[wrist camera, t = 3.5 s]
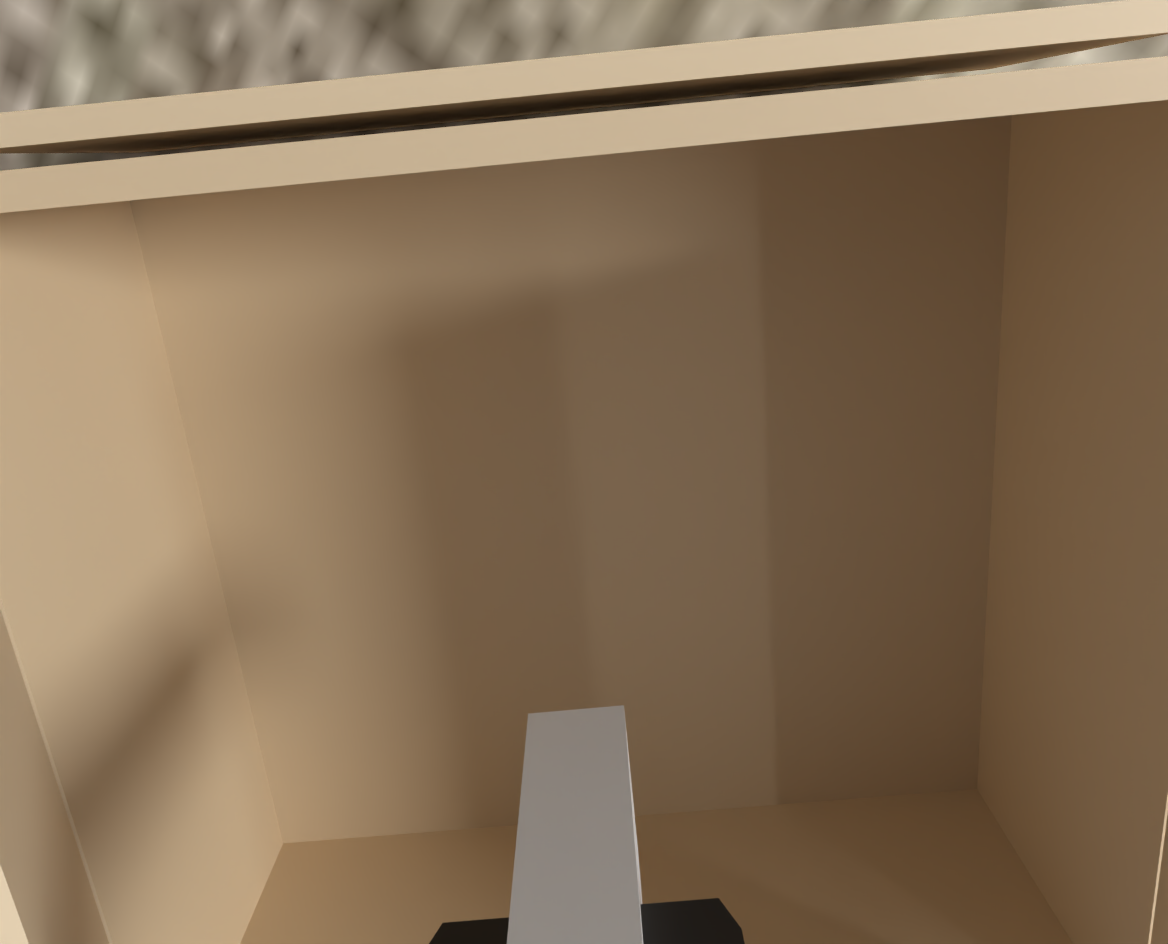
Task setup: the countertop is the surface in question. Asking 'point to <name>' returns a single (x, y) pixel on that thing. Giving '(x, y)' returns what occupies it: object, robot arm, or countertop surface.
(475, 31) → the countertop surface
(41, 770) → the flap
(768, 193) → the carton
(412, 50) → the countertop surface
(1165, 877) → the flap
